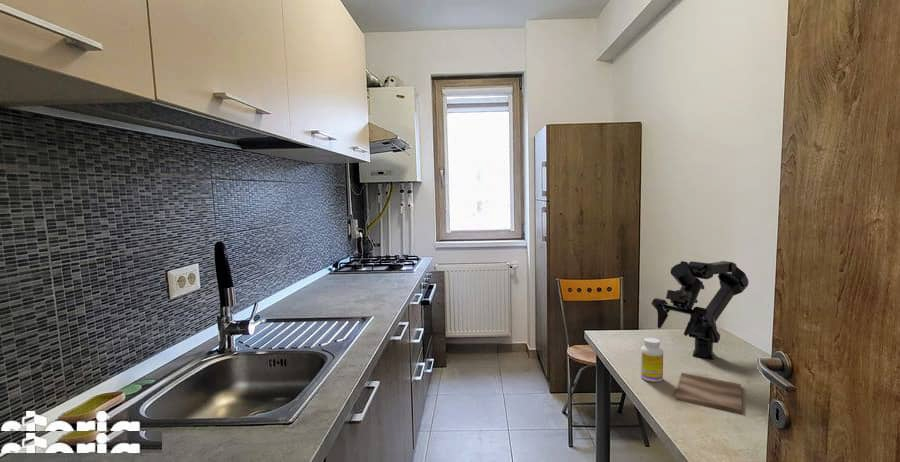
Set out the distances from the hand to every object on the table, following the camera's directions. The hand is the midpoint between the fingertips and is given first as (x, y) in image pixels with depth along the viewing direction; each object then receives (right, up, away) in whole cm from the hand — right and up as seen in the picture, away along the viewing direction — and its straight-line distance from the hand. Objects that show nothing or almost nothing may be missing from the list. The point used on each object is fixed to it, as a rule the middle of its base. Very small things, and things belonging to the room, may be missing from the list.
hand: (671, 331), depth 141 cm
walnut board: (+3, -14, -16) cm, 22 cm away
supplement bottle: (-10, -14, -6) cm, 18 cm away
